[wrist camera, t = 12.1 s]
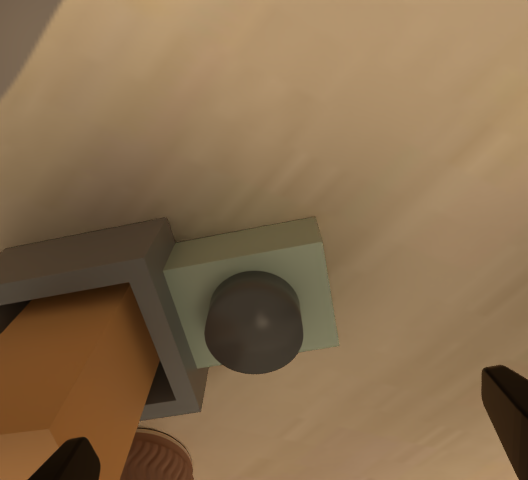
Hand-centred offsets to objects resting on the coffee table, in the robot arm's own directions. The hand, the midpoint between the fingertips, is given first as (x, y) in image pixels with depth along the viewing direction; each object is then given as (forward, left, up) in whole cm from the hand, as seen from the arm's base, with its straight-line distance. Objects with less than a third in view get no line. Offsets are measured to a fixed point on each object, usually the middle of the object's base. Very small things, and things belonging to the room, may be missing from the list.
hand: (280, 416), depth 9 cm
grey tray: (+6, +4, -13) cm, 15 cm away
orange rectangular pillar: (+10, +4, -12) cm, 16 cm away
